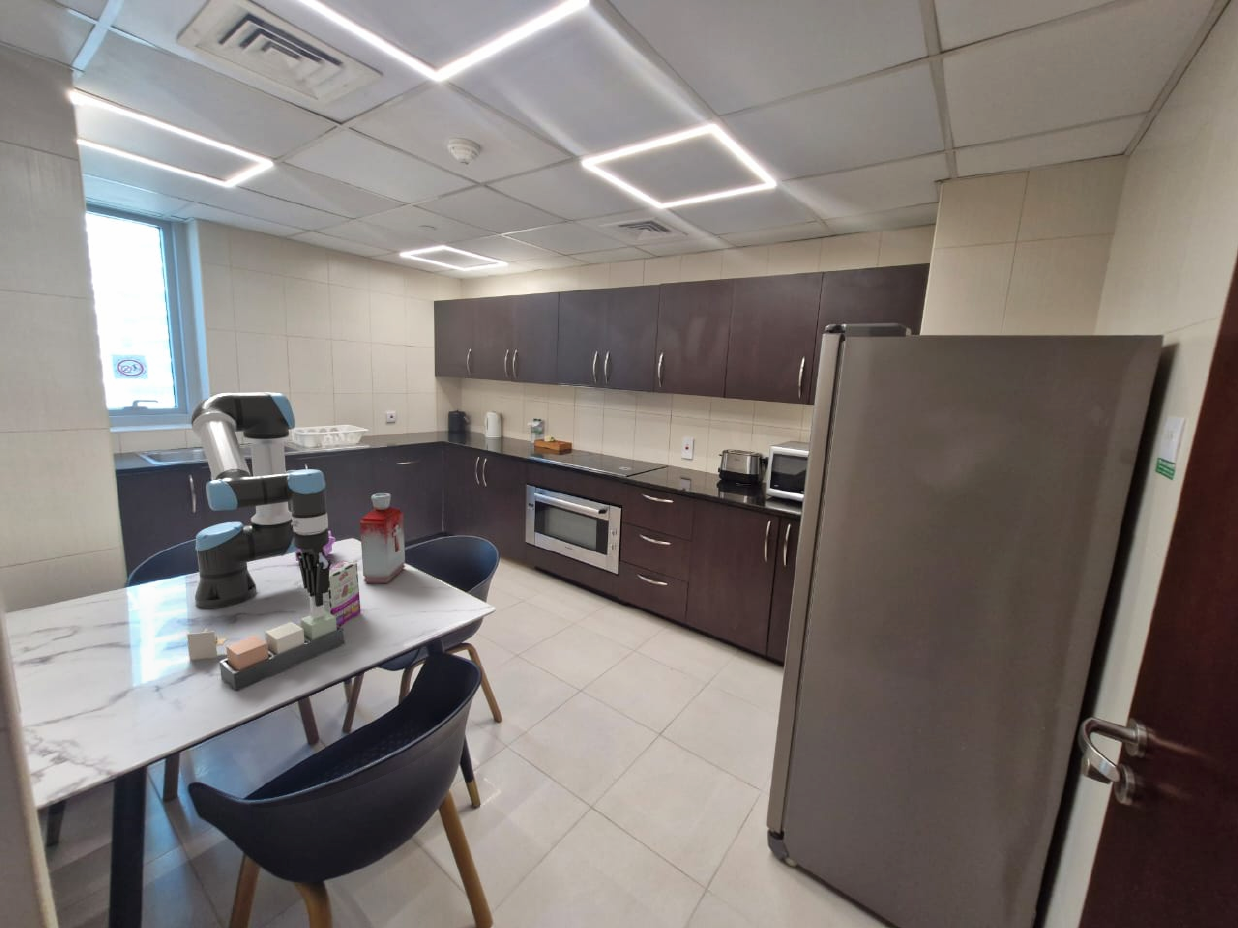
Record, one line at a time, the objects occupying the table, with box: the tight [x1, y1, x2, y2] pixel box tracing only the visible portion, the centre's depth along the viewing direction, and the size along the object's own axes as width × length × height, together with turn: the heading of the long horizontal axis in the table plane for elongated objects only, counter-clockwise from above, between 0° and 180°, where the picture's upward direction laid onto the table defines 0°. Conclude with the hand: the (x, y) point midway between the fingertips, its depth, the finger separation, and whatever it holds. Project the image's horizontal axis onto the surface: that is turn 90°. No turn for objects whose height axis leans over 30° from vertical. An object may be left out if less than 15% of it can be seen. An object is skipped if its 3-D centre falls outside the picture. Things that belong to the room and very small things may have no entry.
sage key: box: [299, 611, 337, 641], centre depth 129 cm, size 6×6×5 cm
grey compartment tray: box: [219, 625, 346, 692], centre depth 123 cm, size 8×25×4 cm, turn 147°
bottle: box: [359, 492, 406, 585], centre depth 172 cm, size 14×10×30 cm
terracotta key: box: [226, 634, 269, 671], centre depth 115 cm, size 6×6×5 cm
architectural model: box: [186, 628, 229, 661], centre depth 124 cm, size 3×7×7 cm, turn 108°
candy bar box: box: [323, 560, 361, 627], centre depth 141 cm, size 11×5×16 cm, turn 168°
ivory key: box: [264, 621, 304, 655], centre depth 122 cm, size 6×6×5 cm
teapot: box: [294, 530, 336, 562], centre depth 186 cm, size 15×13×11 cm
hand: (318, 616), depth 128 cm, fingers closed
